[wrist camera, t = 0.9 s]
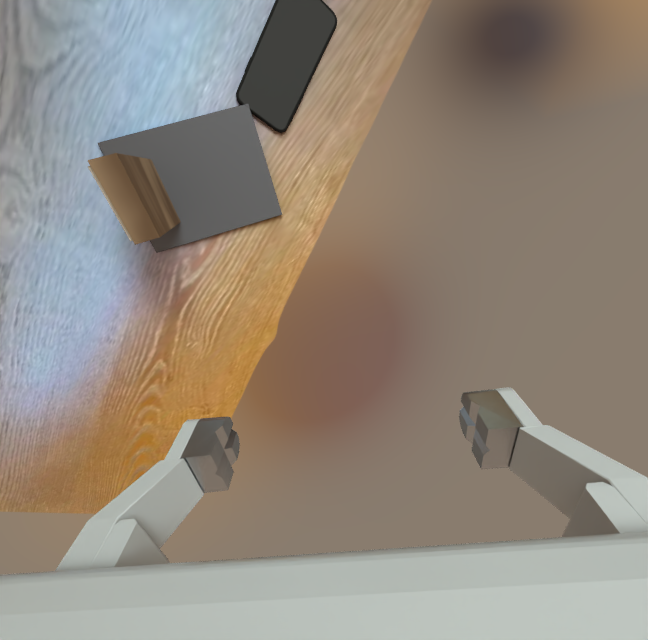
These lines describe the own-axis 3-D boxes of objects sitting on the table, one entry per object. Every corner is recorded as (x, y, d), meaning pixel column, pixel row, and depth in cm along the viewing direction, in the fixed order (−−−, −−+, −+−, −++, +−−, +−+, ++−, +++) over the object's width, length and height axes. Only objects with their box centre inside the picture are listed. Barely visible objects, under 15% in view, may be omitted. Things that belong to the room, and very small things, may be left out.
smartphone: (341, 17, 37) (284, 136, 40) (339, 21, 37) (283, 137, 41) (289, -35, 34) (232, 98, 37) (288, -30, 34) (232, 100, 38)
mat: (157, 251, 43) (156, 252, 43) (99, 143, 36) (97, 143, 36) (281, 214, 45) (282, 214, 44) (248, 104, 38) (248, 103, 38)
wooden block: (159, 228, 41) (131, 245, 31) (127, 165, 38) (83, 161, 27) (180, 221, 42) (159, 237, 31) (151, 159, 38) (116, 152, 27)
